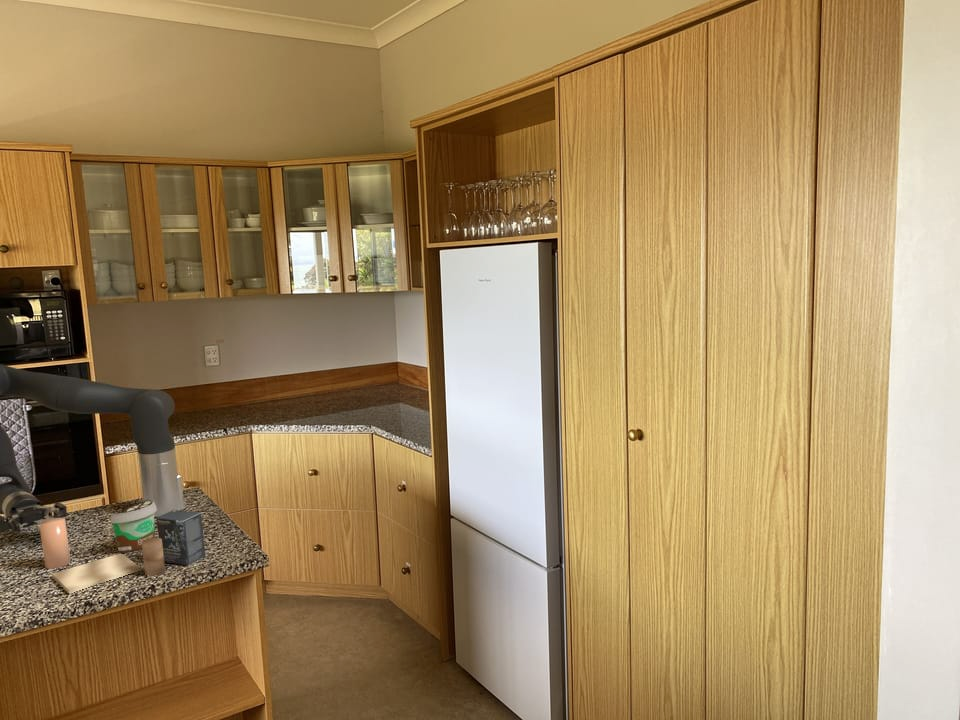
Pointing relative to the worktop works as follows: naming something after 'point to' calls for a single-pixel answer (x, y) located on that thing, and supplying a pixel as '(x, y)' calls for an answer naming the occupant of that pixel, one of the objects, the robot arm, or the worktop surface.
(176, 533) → the box
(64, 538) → the salmon orange cylinder
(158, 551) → the walnut cylinder
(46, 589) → the worktop surface
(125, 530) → the food container
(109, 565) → the birch board
